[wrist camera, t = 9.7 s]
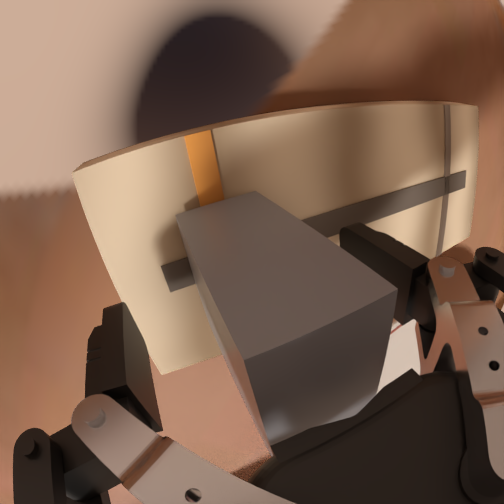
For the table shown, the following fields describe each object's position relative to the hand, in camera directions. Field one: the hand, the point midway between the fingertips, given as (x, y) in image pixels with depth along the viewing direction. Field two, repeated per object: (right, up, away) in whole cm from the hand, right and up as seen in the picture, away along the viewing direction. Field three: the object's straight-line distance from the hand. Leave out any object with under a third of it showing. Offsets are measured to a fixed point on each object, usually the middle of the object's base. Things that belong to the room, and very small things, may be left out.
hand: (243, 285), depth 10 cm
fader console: (+5, +4, +5) cm, 8 cm away
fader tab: (-1, +1, +1) cm, 2 cm away
